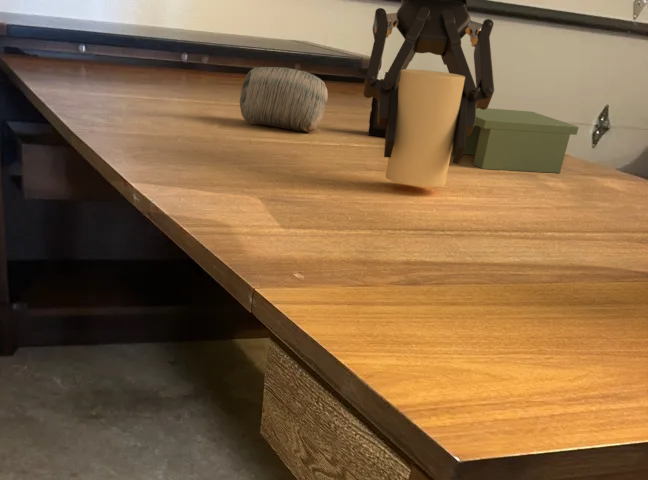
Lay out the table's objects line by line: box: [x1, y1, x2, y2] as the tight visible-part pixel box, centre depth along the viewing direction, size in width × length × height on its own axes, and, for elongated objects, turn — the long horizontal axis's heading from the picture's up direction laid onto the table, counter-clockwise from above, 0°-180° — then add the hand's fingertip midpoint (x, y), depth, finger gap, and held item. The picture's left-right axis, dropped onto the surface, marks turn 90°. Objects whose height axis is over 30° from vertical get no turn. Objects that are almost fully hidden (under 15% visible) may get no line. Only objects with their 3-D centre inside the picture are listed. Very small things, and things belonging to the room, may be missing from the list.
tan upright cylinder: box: [385, 68, 465, 188], centre depth 92 cm, size 7×7×11 cm
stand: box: [451, 107, 580, 174], centre depth 118 cm, size 14×14×6 cm
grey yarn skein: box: [239, 66, 329, 133], centre depth 125 cm, size 14×10×10 cm
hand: (423, 152), depth 91 cm, fingers closed on tan upright cylinder, 7 cm apart
